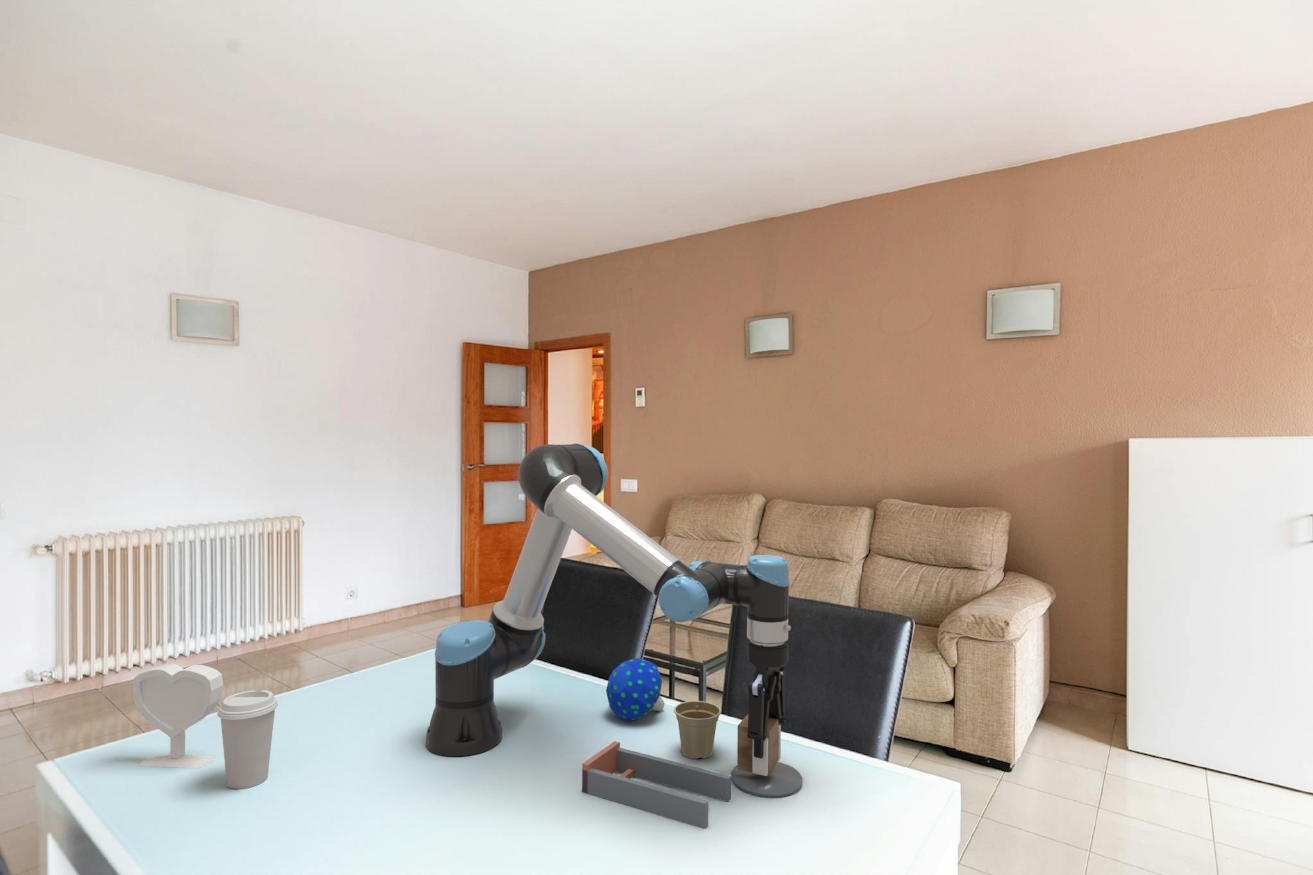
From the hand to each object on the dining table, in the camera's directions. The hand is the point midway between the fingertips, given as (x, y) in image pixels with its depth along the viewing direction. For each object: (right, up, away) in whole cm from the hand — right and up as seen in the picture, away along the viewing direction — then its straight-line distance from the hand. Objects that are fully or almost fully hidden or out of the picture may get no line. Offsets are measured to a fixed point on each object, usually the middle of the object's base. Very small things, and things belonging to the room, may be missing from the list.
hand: (766, 765), depth 131 cm
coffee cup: (-95, -2, -2) cm, 95 cm away
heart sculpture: (-112, -2, +5) cm, 112 cm away
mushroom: (-25, -3, +29) cm, 39 cm away
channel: (-20, -2, -6) cm, 21 cm away
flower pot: (-12, -3, +11) cm, 17 cm away
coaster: (0, -3, 0) cm, 3 cm away
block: (-2, 0, +1) cm, 2 cm away
